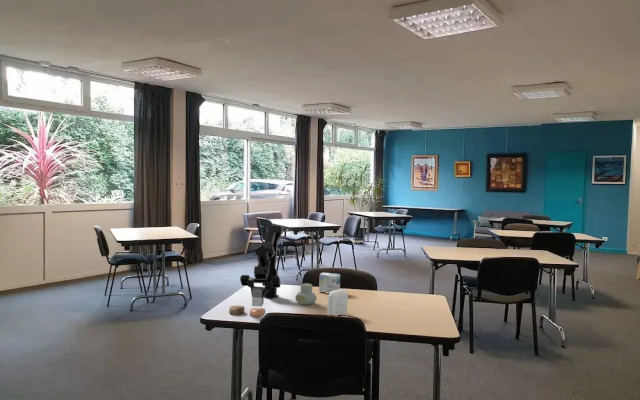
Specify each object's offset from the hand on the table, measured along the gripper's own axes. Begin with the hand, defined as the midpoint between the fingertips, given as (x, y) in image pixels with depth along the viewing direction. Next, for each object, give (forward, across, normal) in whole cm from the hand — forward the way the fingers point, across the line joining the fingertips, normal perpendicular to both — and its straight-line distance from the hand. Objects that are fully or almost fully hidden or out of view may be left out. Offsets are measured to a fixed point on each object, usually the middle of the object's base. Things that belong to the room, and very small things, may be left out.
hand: (257, 296), depth 201 cm
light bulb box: (-29, +31, +42) cm, 60 cm away
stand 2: (+6, 0, +7) cm, 9 cm away
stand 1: (+4, -10, +8) cm, 14 cm away
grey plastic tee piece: (-11, +20, +24) cm, 34 cm away
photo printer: (0, +37, +13) cm, 39 cm away
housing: (+2, 0, +4) cm, 4 cm away
